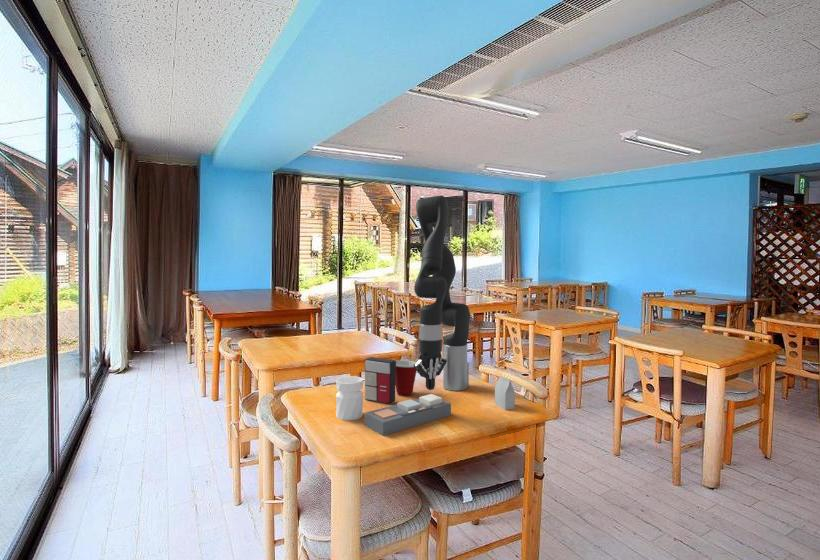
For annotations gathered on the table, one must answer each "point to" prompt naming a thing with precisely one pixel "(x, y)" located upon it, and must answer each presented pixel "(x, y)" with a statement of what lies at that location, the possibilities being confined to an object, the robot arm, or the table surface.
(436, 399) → the cream key
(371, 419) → the keypad housing
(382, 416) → the terracotta key
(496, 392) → the pale grey block
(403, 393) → the plastic cup
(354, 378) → the vase
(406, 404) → the grey key
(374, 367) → the red and grey box
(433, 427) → the table surface
